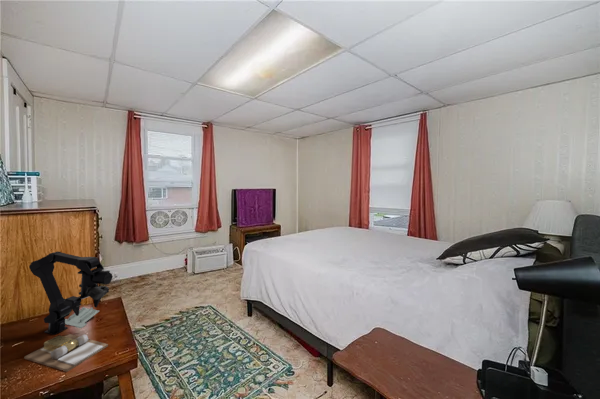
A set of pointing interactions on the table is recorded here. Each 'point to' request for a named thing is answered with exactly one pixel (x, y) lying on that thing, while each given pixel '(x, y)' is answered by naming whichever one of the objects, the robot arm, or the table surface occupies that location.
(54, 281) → the robot arm
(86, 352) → the hinge base
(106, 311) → the table surface
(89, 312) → the metal bracket
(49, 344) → the perfume bottle
